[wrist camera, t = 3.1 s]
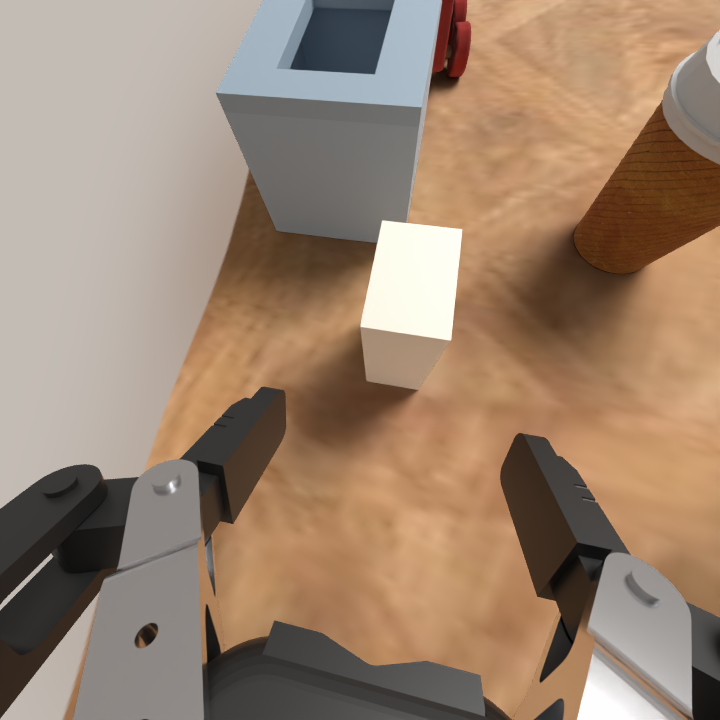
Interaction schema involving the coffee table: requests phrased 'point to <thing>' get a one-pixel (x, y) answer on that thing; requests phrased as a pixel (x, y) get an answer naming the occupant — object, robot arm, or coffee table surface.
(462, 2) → the toy fire truck
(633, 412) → the coffee table surface
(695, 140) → the disposable coffee cup
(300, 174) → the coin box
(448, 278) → the block
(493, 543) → the coffee table surface
